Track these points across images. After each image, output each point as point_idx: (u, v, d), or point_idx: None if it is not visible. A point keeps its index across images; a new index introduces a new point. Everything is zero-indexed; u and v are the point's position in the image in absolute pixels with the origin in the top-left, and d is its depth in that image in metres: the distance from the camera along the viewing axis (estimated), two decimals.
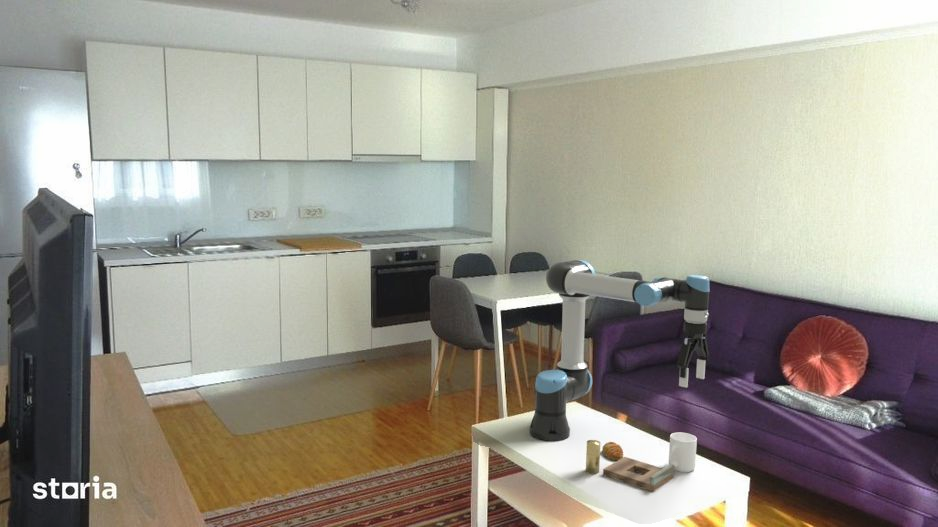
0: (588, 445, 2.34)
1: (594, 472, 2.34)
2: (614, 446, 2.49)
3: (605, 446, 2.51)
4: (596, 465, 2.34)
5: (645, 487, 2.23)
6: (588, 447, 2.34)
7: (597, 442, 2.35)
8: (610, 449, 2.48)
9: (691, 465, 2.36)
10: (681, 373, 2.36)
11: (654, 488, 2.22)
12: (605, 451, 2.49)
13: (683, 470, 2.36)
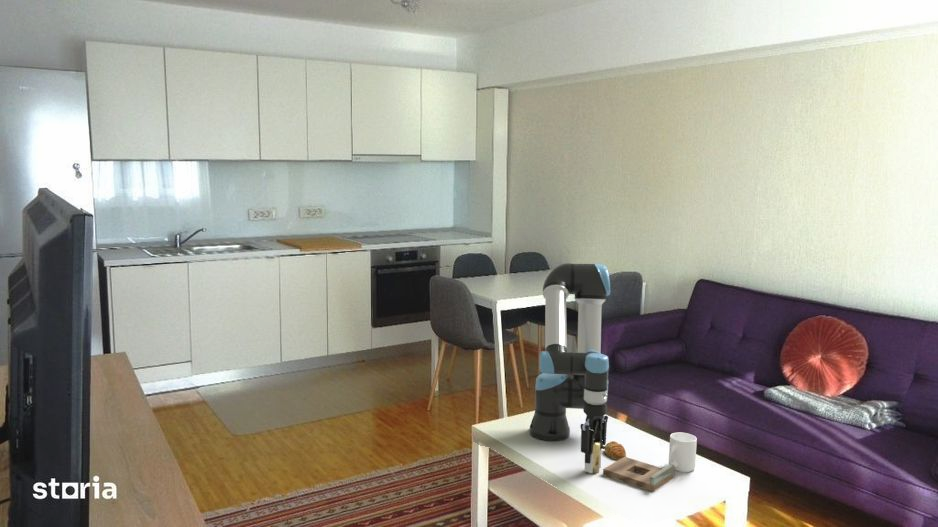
0: None
1: (594, 472, 2.34)
2: (616, 446, 2.50)
3: (607, 446, 2.51)
4: (596, 464, 2.34)
5: (645, 487, 2.23)
6: None
7: (597, 442, 2.35)
8: (613, 449, 2.48)
9: (691, 465, 2.36)
10: (586, 458, 2.33)
11: (654, 488, 2.22)
12: (608, 451, 2.49)
13: (683, 470, 2.36)
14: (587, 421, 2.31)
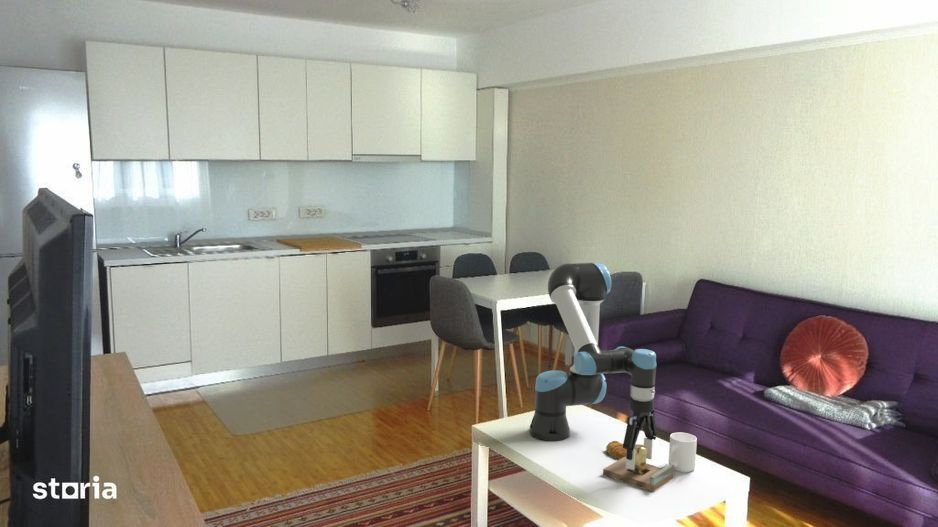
0: None
1: None
2: (619, 445, 2.50)
3: (609, 445, 2.52)
4: (642, 469, 2.30)
5: (645, 487, 2.23)
6: None
7: (643, 447, 2.31)
8: (615, 448, 2.49)
9: (691, 465, 2.36)
10: (627, 455, 2.26)
11: (654, 488, 2.22)
12: (610, 450, 2.50)
13: (683, 470, 2.36)
14: (634, 417, 2.27)
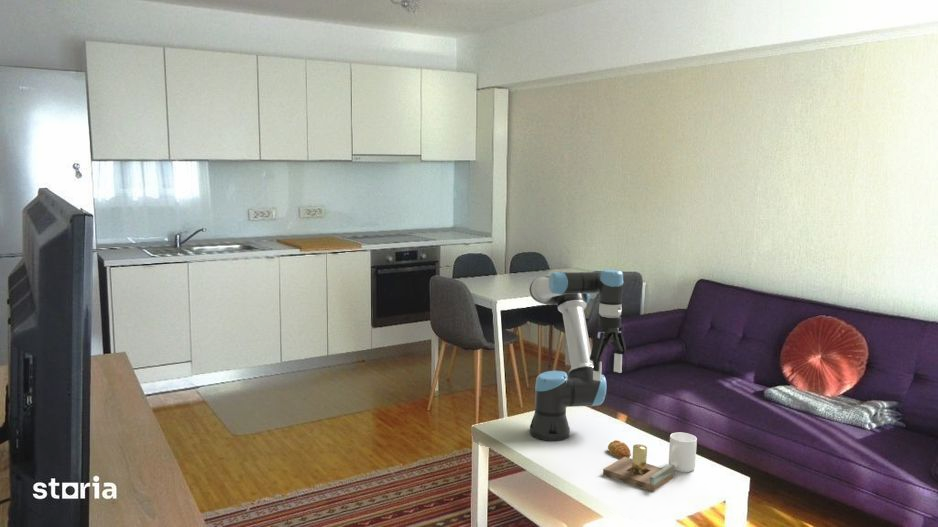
0: (635, 450, 2.30)
1: None
2: (620, 444, 2.51)
3: (611, 445, 2.52)
4: (642, 470, 2.30)
5: (645, 487, 2.23)
6: (635, 452, 2.30)
7: (644, 447, 2.31)
8: (617, 448, 2.49)
9: (691, 465, 2.36)
10: (594, 367, 2.39)
11: (654, 488, 2.22)
12: (612, 450, 2.50)
13: (683, 470, 2.36)
14: (603, 332, 2.40)
